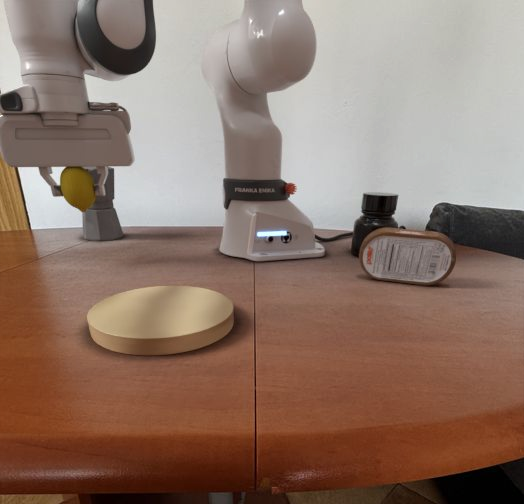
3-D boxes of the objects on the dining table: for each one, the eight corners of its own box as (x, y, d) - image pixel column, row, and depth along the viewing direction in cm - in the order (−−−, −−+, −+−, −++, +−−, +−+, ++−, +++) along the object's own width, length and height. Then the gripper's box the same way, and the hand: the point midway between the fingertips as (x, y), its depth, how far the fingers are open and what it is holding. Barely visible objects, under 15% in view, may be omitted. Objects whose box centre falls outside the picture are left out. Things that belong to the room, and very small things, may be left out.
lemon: (73, 210, 69) (62, 162, 66) (103, 209, 70) (94, 161, 66) (61, 215, 65) (49, 163, 61) (94, 214, 65) (84, 163, 61)
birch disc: (228, 297, 55) (227, 283, 54) (240, 350, 40) (240, 333, 39) (106, 301, 53) (104, 287, 52) (72, 360, 38) (67, 342, 37)
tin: (448, 284, 63) (461, 232, 59) (450, 290, 60) (464, 235, 56) (356, 274, 67) (363, 225, 63) (354, 279, 64) (361, 228, 60)
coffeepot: (120, 242, 86) (107, 153, 78) (76, 243, 84) (58, 152, 76) (127, 230, 99) (117, 153, 91) (89, 230, 97) (75, 152, 89)
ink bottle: (393, 251, 83) (403, 192, 78) (396, 261, 76) (408, 197, 70) (348, 248, 85) (355, 191, 80) (347, 257, 78) (355, 194, 72)
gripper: (130, 104, 63) (142, 192, 70) (-2, 102, 61) (24, 195, 67) (124, 100, 58) (138, 196, 65) (-21, 98, 55) (9, 199, 62)
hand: (79, 195), depth 66 cm, fingers closed on lemon, 5 cm apart
